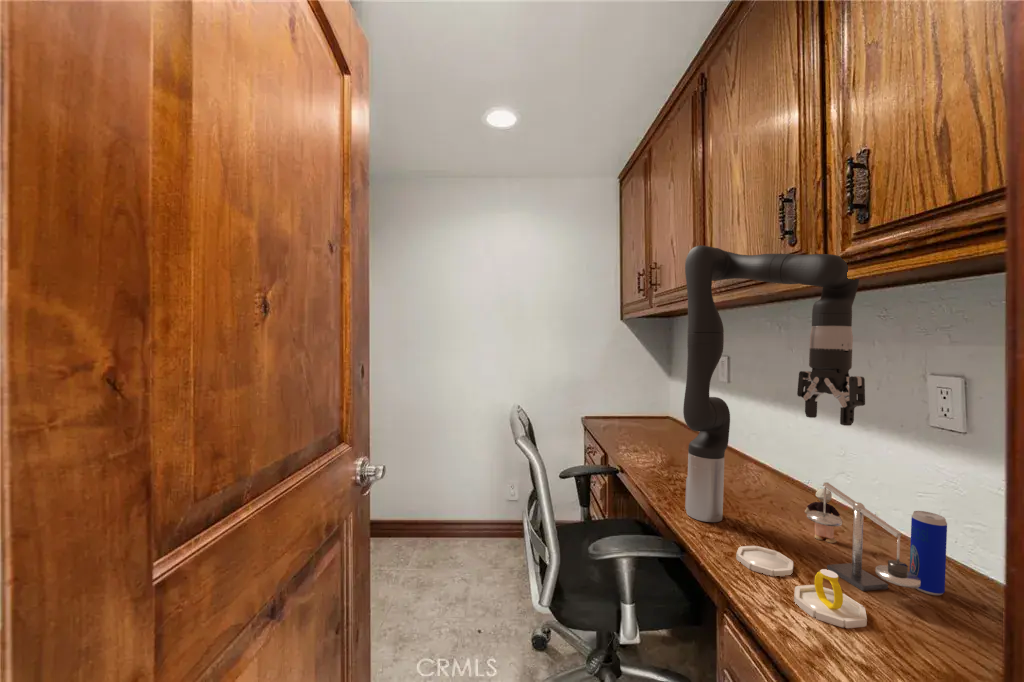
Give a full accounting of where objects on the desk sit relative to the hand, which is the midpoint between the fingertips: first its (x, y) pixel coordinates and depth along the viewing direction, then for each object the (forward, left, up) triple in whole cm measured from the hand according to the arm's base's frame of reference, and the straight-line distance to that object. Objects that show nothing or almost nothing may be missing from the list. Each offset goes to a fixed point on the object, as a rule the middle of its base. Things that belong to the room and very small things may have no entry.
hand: (827, 421), depth 94 cm
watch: (+13, -12, -32) cm, 36 cm away
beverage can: (+10, +14, -32) cm, 37 cm away
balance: (+5, +3, -32) cm, 33 cm away
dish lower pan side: (+13, -12, -32) cm, 37 cm away
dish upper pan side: (-3, -12, -32) cm, 34 cm away
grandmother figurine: (-12, +12, -32) cm, 36 cm away
